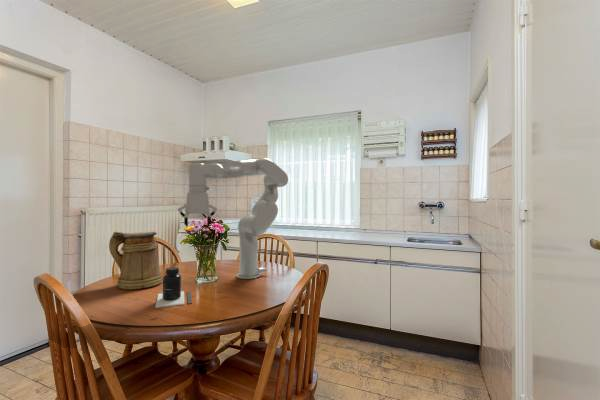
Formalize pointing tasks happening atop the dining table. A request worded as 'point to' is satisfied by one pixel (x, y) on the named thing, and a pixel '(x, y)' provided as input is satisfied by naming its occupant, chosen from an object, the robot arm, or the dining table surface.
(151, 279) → the tankard
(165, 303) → the white tile with strip
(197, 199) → the robot arm
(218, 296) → the dining table surface
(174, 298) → the supplement bottle
